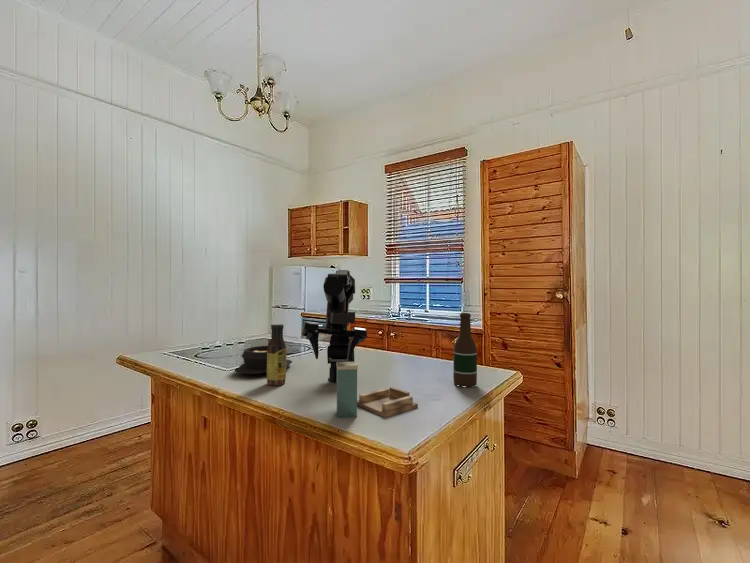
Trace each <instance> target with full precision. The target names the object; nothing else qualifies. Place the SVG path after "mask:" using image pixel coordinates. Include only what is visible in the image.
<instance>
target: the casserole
mask: <svg viewBox="0 0 750 563" xmlns="http://www.w3.org/2000/svg"><path fill="white" fill-rule="evenodd" d="M267 352H268V345H258V346H251V347H247V348H245V349H244V350H243V353H242V354H241V357H242V359H243V363H242V364H240V366H238V368H235V369H234V370H233V371H234V372H236V373H238V374H243V375H244V374H245V375H267ZM287 355H288V352H287V351H286V356H287ZM292 363H293V361H292V359H287V358H286V369H288V367H290V366H291V364H292Z"/></svg>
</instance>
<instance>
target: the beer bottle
mask: <svg viewBox="0 0 750 563" xmlns="http://www.w3.org/2000/svg"><path fill="white" fill-rule="evenodd" d="M459 317H460V321H459V333H458V337H457V339H456V340H455V343H454V345H453V366H452V367H453V369H452V370H453V373H452V374H453V377H452V378H453V383H454V385H455V386H456V385H459V386H466V387H472V386H475V385H476V386H477V382H478V381H477V380H478V349H477V345H476V342H475V341H474V339H473V337H472V330H471V329H472V327H471V317H472V315H471V313H469V312H461V313H460V314H459ZM459 386H458V387H459ZM476 386H475V387H476ZM472 388H473V387H472Z"/></svg>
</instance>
